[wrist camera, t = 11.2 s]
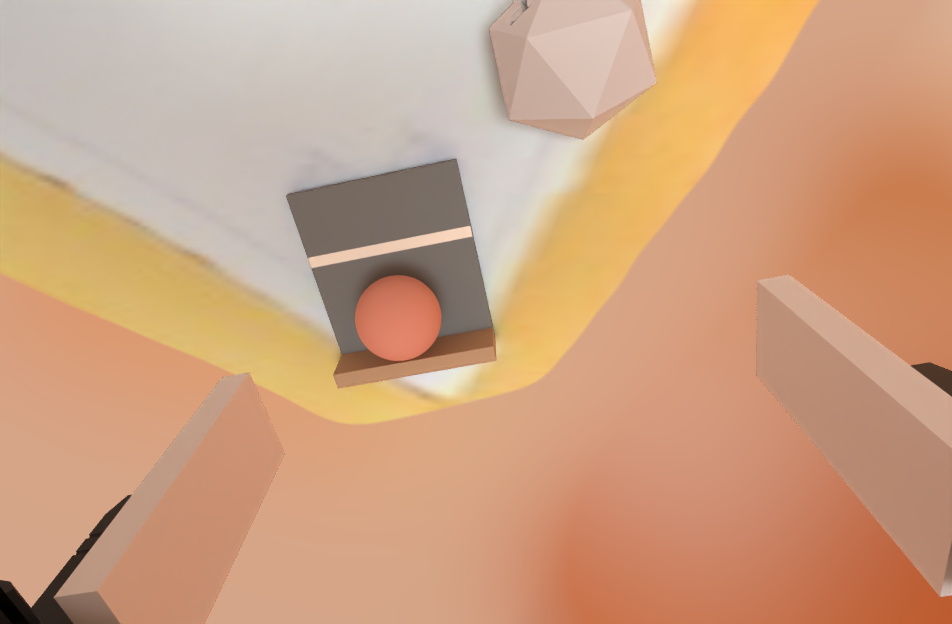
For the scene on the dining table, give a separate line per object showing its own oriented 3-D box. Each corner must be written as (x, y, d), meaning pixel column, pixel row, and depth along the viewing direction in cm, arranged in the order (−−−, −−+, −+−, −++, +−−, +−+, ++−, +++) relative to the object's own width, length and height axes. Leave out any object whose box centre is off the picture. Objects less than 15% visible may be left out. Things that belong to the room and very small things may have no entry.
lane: (288, 194, 40) (271, 207, 37) (456, 158, 39) (454, 169, 35) (348, 363, 46) (338, 388, 42) (495, 337, 45) (496, 360, 41)
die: (629, -43, 34) (548, -108, 26) (704, 82, 33) (643, 52, 25) (526, 56, 39) (433, 26, 31) (588, 167, 38) (507, 164, 30)
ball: (355, 270, 42) (333, 304, 36) (434, 256, 41) (424, 288, 36) (377, 341, 44) (360, 383, 39) (452, 329, 43) (446, 370, 38)
